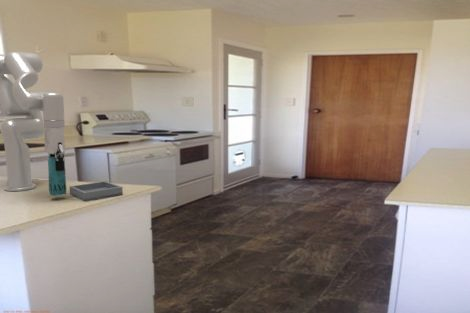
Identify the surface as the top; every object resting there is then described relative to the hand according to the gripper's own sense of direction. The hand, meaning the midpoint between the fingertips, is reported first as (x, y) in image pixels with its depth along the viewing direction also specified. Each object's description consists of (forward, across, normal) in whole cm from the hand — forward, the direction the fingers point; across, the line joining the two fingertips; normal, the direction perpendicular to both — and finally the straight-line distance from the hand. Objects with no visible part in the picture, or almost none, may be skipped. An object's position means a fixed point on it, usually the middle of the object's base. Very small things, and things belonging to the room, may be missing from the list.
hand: (56, 168), depth 156 cm
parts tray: (+12, +4, +14) cm, 19 cm away
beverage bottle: (+12, 0, 0) cm, 12 cm away
